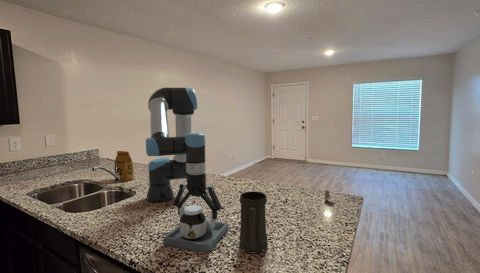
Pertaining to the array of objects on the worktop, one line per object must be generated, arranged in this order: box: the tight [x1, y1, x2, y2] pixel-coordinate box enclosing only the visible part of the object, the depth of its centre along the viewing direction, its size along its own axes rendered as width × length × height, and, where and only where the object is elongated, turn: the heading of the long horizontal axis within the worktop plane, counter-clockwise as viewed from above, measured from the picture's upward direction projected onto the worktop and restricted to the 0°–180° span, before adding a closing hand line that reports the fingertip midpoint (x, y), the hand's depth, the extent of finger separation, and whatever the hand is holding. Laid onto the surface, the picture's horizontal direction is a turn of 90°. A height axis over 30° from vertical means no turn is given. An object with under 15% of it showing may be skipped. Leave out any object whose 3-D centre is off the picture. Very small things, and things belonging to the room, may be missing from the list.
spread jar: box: [179, 204, 214, 241], centre depth 103 cm, size 12×11×12 cm
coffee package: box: [114, 150, 135, 183], centre depth 190 cm, size 10×12×22 cm
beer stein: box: [238, 191, 269, 253], centre depth 93 cm, size 15×11×20 cm
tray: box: [162, 221, 229, 254], centre depth 103 cm, size 19×19×3 cm
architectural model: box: [324, 187, 333, 203], centre depth 140 cm, size 3×7×7 cm, turn 158°
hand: (197, 224), depth 102 cm, fingers open, 13 cm apart
